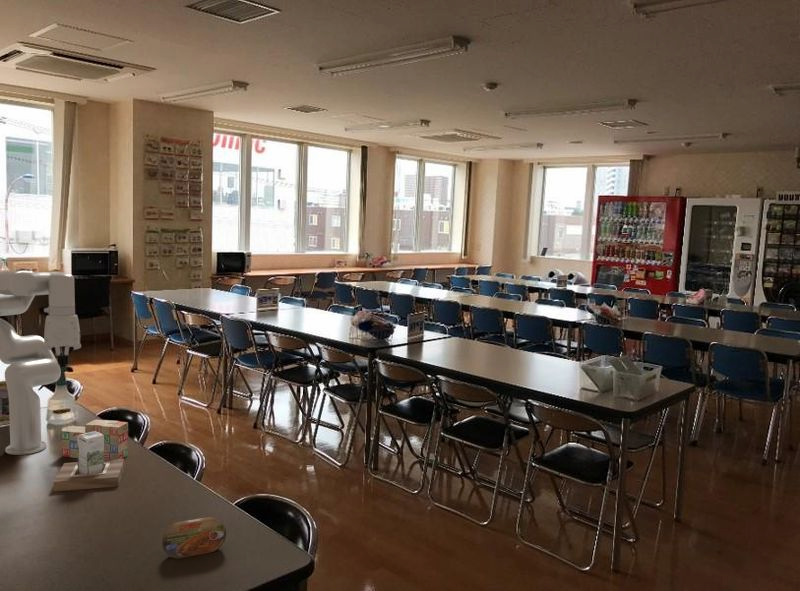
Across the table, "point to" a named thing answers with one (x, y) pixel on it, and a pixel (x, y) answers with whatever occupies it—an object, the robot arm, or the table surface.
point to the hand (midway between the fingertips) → (63, 366)
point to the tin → (193, 537)
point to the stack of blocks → (111, 430)
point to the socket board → (88, 476)
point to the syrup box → (90, 453)
